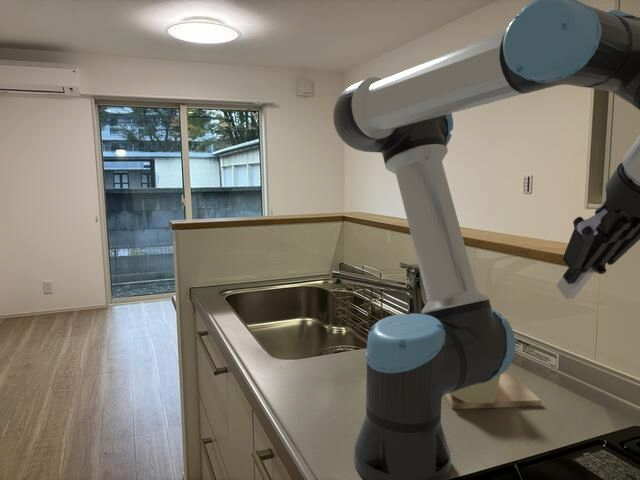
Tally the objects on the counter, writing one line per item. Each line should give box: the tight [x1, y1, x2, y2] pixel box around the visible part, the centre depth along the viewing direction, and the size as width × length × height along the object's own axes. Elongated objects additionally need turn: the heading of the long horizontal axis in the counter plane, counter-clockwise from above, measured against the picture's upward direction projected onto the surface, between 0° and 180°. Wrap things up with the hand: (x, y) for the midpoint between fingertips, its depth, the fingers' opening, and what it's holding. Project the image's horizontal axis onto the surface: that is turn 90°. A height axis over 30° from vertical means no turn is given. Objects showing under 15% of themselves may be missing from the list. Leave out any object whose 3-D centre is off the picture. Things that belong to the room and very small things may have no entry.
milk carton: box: [449, 375, 500, 403], centre depth 102 cm, size 9×9×20 cm
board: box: [442, 369, 542, 410], centre depth 102 cm, size 18×16×1 cm
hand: (565, 291), depth 74 cm, fingers closed
